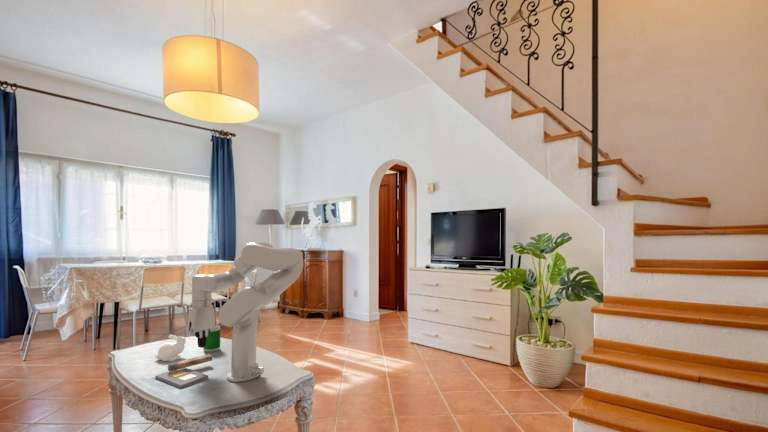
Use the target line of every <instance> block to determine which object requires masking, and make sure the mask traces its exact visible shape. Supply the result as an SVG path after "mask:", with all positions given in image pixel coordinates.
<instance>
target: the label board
mask: <svg viewBox="0 0 768 432" xmlns="http://www.w3.org/2000/svg"><path fill="white" fill-rule="evenodd" d="M155 379H156V380H157V381H161V382H164V383H165V384H168V385H170V386H173V387H175V388H178V389H180V390H181V389H183V388H186V387H189V386H192V385H194V384H198V383H199V382H203V381H204V380H207V379H209V375H208V374H205V373H202V372H200V371H195V370H193V369H190V368H189V367H185V368H181V369H177V370H173V371H169V370H168V371H165V372H162V373H160V374H159V373H158V374H157V375H155Z"/></svg>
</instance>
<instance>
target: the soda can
mask: <svg viewBox="0 0 768 432" xmlns="http://www.w3.org/2000/svg"><path fill="white" fill-rule="evenodd" d="M206 339H207V343H206V347H203V351H204V352H205V353H214V352H218V351H219V349H220V348H221V326H220V325H219V324H215V326H214V330H212V331H210V332H209V334H208V336H207V337H206Z"/></svg>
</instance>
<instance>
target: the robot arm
mask: <svg viewBox="0 0 768 432" xmlns="http://www.w3.org/2000/svg"><path fill="white" fill-rule="evenodd" d="M258 268H261V269H265V270H269V271H274V272H272V273H271V274H270V275H269V276H268V277H267V278H266V279H264V280H263V281H261V282H259V283H256V284H251V285H249V286H246V287H244V288H242V289H240V290H239V291H238V292H237V293H236V294H234V296H232V297H231V298H229V299H228V300H227V301H226V302H225V303H224V304H223V305H222V306H221V307H220V309H219V311H218V315H217V316H218V321H219V322H220V324H221V325H222V326H224V327H227V328H232V327H233V328H232V332H231V357H230V359H231V360H230V361H231V364H230V365H231V366H230V371H229V372H228V373H227V375H226V379H227V380H228V381H229V382H235V383H239V382H240V383H241V382H248V381H251V380H254V379H256V378H257V377H259V376H260V375H263V374H264V371H265V367H264V366H263V367H262V366H260V365H259V363H258V362H257V332H258V330H257V329H258V321H259V316H260V309H261V308H264V307H266V306H268V305H270V304H271V303H272V302H273V301H274V300H276V298H277V297H279V296H280V295H281V294H283V292H285V291H286V290H287V289H289V288H290V286H292V285H293V284H294V283H295V282H296V281H297V279H299V277H300V275H301V273H302V271H303V268H304V257H303V255H302V252H300V251H299V250H298V249H295V248H293V247H283V248H275V247H273V245H272V244H271V243H269V242H266V241H253V242H252V241H251V242H249V243H246V244H245V245H244V246H243V247H242V249H241V252H240V255H238V256H236V257H235V258H234V260H233V267H232V268H231V269H229V270H227V271H225V272H220V273H214V274H208V273H200V274H195V275H193V276H192V277H191V278H192V279H191V307H190V308H189V311H188V315H187V331H188V332H189V333H188V335H189V336H192V337H193V336H195V337H196V338H197V346H198V348H201V349H202V348H203V347H206V343H207V339H206V337H207V336H208V334H209V332H210V331H212V330H214V326H215V325H216V316H215V309H214V305H213V304H212V303H213V302H214V301H215V299H214V298H212V293H218V292H222V291H225V290H230V289H232V288H234V287H236V286H237V285H238V284H241V282H243V281H244V280H246V278H247V277H248V275H249V274H251V273H252V272H254V271H256V270H257V269H258Z"/></svg>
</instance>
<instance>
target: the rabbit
mask: <svg viewBox="0 0 768 432" xmlns="http://www.w3.org/2000/svg"><path fill="white" fill-rule="evenodd" d="M167 338H168V339H169V340H175V341H176V342H175V341H174V342H169V341H168V342H164V343H162V344H161V345H160V347H158V350H157V353H155V356H154V357H155V359H157V360H158V361H162V362H174V361H176V360H179V359H181V358H182V357H181V355H180V354H182V353H183V352H184V350H185V344H186V343H187V342H186V341H187V340H186V337H185V336H181V335H179V336H177V335H174V334H169V335H168V337H167Z"/></svg>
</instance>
